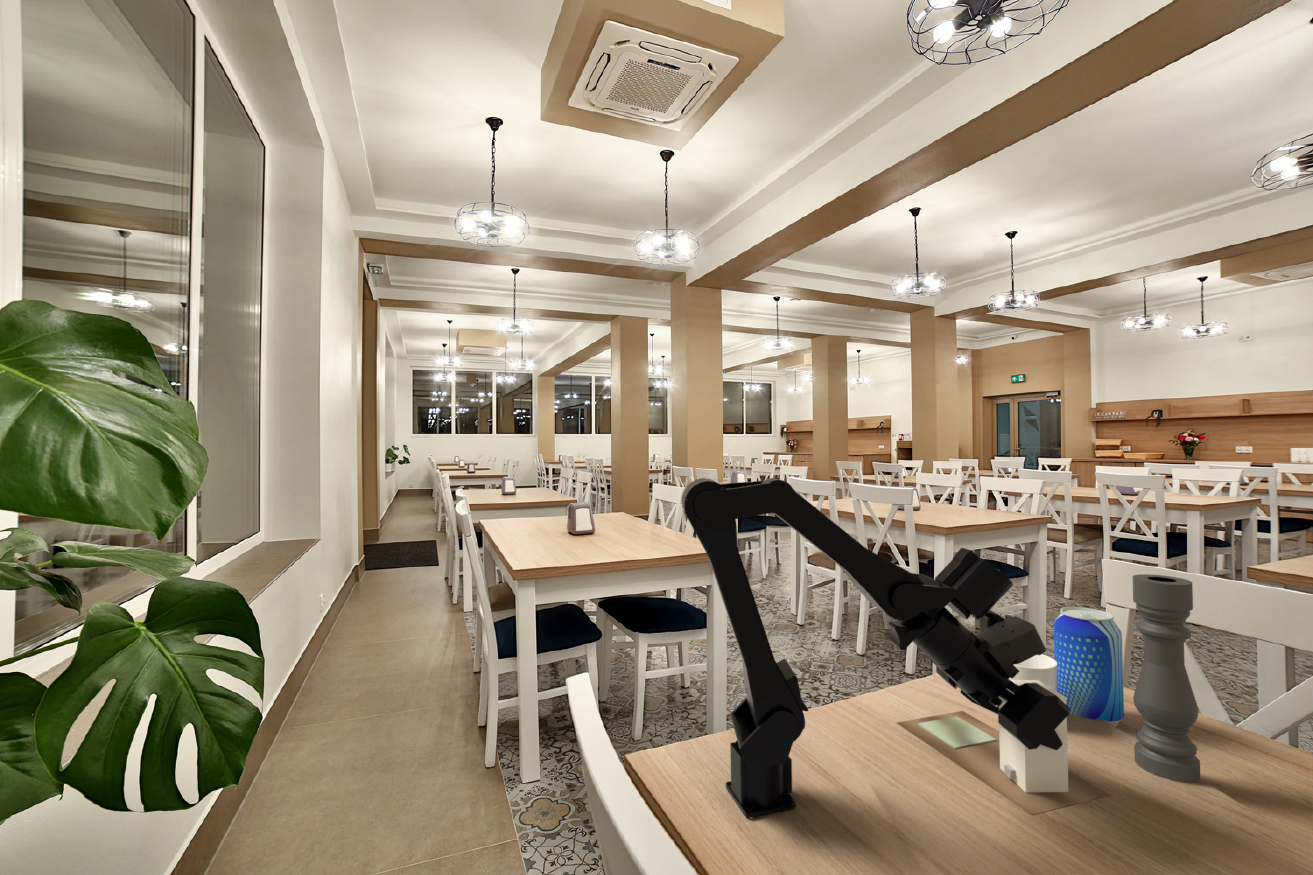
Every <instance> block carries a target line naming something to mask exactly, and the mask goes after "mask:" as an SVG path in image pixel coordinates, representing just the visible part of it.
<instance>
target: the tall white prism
mask: <svg viewBox="0 0 1313 875" xmlns="http://www.w3.org/2000/svg"><path fill="white" fill-rule="evenodd" d="M1011 681H1012V682H1014V683H1015V684H1017V685H1018V686H1020V685H1022V684H1024V683H1037V684H1039V685H1040V686H1042V687H1044V688H1045V689H1047V690H1048V691H1050V692H1052V693H1053V694H1055V695H1056V696H1058V697H1059V698H1060V699H1061V700H1062V701H1063V702H1064V703H1065V704H1066V705H1067V701H1066V697H1065V696H1063V695H1062V694H1060V693H1058V692H1057V691H1055V690H1053V689H1052V688H1050V687H1049V686H1047V685H1045V684H1044V683H1042V682H1040V681H1039V680H1011ZM1006 689H1007V688H1006ZM1007 690H1008V689H1007ZM1008 691H1010V690H1008ZM1010 692H1011V691H1010ZM1011 693H1013V692H1011ZM1013 694H1014V693H1013ZM999 698H1000V699H1001V700H1002V701H1003V702H1002V704H1001V705H1000V706H999V710H1000V708H1001V707H1002V706H1003V705H1004V704H1005V703H1006V701H1005V700H1003V699H1002V698H1001V697H999ZM1067 717H1068V716H1067ZM1067 717H1066V718H1065V719H1064V720H1063V721H1062V722H1061V723H1060V724H1059V726H1058V727H1057V728H1056V729H1055V731H1056V733H1057V734H1058V736H1059V738H1060V740H1061V741H1062V743H1063V744H1062V746H1061V747H1060V748H1059V749H1058V750H1054V749H1051V748H1048V747H1046V746H1043V745H1040V746H1039V747H1038V748H1037V749H1031V750H1029V749H1028V748H1027V747H1026V746H1024V745H1023V744H1022V743H1021V742H1019V741H1018V740H1017V739H1016V738H1014V737H1013V736H1012V735H1011V734H1010V733H1009V732H1008V731H1007V730H1005V729H1004V728H1003V727H1002V726H1001V725H1000V724H999V723H998V731H999V740H1000V769H1001V770H1002V771H1003V772H1004V773H1005V774H1006V775H1007V776H1008V777H1009V778H1010V779H1012V780H1013V781H1014V782H1015V783H1016V784H1017V785H1018V786H1019V787H1020V788H1021V789H1023V790H1024V791H1025V792H1068V770H1069V767H1068V766H1069V762H1068V761H1069V760H1068V759H1069V758H1068V757H1069V755H1068V718H1067Z"/></svg>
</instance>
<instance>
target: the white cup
mask: <svg viewBox="0 0 1313 875" xmlns="http://www.w3.org/2000/svg"><path fill="white" fill-rule="evenodd" d="M1014 666H1015V667H1016V668H1017V669H1018V670H1019V671H1020V672H1019V673H1018V674H1017V675H1016V676H1015V677H1014V678H1009V680H1039V681H1040V682H1042V683H1044V684H1045V685H1047V686H1049V687H1050V688H1052V689H1053V690H1055V691H1057V669H1058V663H1057V662H1056V661H1055V660H1054V658H1052V657H1050V656H1048V655H1046V654H1044V653H1043V654H1041V655H1035V656H1033V657H1031V658H1029V659H1027V660H1025V661H1023V662H1021V663H1019V664H1014Z"/></svg>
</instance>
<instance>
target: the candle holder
mask: <svg viewBox="0 0 1313 875" xmlns="http://www.w3.org/2000/svg"><path fill="white" fill-rule="evenodd" d="M1193 592H1194V590H1193V581H1192V580H1189V579H1186V578H1185V579H1184V578H1182V577H1181V578H1180V577H1178V576H1177V577H1176V576H1170V575H1160V574H1151V573H1150V574H1149V573H1148V574H1141V573H1140V574H1135V575H1133V576H1132V601H1133V603H1135V604H1136V605H1135V607H1136V609H1137V611H1138V612H1139V615H1140V616H1141V618H1142V620H1139V621H1138V622H1136V625H1135V626H1136V627H1135V628H1136V630H1138V632H1140V634H1141V635H1142V636H1143V637H1142V638H1143V661H1142V665H1141V668H1140V673H1139V675H1138V679H1137V682H1136V686H1135V689H1134V693H1133V697H1132V698H1133V704H1134V706H1135V708H1136V710H1137V712H1138V713H1139V715H1141V716H1142V722H1143V723H1144V724H1145V725H1143V726H1142V727H1141V729H1139V730H1137V733H1136V739H1137V740H1138V741H1136V742H1135V743H1134V747H1133V748H1134V750H1133V751H1134V752H1133V753H1134V762H1135V764H1136V765H1137V766H1138V767H1139V768H1140V769H1143V770H1144V771H1146V772H1147V773H1150V774H1152V775H1154V776H1157V777H1159V778H1162V779H1166V780H1169V781H1172V782H1173V781H1174V782H1179V783H1196V782H1198V781H1200V780H1201V760H1200V759H1199V758H1198V757H1197V756H1196V755H1197V752H1198V747H1197V745H1196V744H1195V743H1194V742H1193V740H1192V739H1191V738H1190V737H1189V736H1188V734H1189V733H1190V732H1191V729H1190V728H1191V727H1192V726H1193V725H1195V723H1196V722H1197V719H1198V717H1199V706H1198V703H1197V700H1196V697H1195V694H1194V690H1193V688H1192V684H1191V681H1190V679H1189V674H1188V671H1187V669H1186V666H1185V665H1186V664H1185V643H1186V641H1187V640H1188V639H1191V636H1192V631H1191V630H1190V629H1189V628H1187V627H1186V626H1185V625H1184V624H1185V623H1186V621H1187V619H1188V618H1189V617H1190V616H1191V611H1192V610H1193V609H1194V595H1193V594H1194V593H1193Z"/></svg>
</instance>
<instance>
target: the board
mask: <svg viewBox="0 0 1313 875" xmlns="http://www.w3.org/2000/svg"><path fill="white" fill-rule="evenodd" d="M896 724H897V725H899V726H900V727H902V729H904V730H906V731H907V732H909V733H911V735H912V736H915V737H917V739H919V740H920V741H922V742H924V743H925V744H926V745H927V746H929V747H931V748H932V749H934V750H935V751H936V752H938V753H940V754H941V755H942V756H944V757H946V758H947V759H949V760H950V761H951V762H953V763H954V764H956V765H958V767H960V768H962V769H964V771H966V772H967V773H969V774H971V775H972V776H974V778H977V779H978V780H979V781H981V782H982V783H984V784H985V785H987V786H989V788H991V789H992V790H994V791H995V792H996V793H998V794H1000V795H1001V796H1003V797H1004V798H1006V799H1007V800H1009V801H1010V802H1012V803H1013V804H1014V805H1016V806H1017V807H1019V808H1021V809H1022V810H1023V811H1025V812H1026V813H1027V814H1030V815H1031V816H1034V815H1038V814H1042V813H1046V812H1050V811H1054V810H1057V809H1062V808H1066V807H1070V806H1074V805H1079V804H1082V803H1083V804H1084V803H1086V802H1090V801H1094V800H1098V799H1103V798H1107V797H1110V796H1113V794H1112V793H1110V792H1108V791H1106V790H1105V789H1103V788H1101V787H1100V786H1097V785H1096V784H1094V783H1093V782H1090V781H1088V780H1087V779H1085V778H1084V777H1082V776H1080V775H1078V774H1077V773H1075V772H1073V771H1071V770H1069V769H1068V792H1025V791H1024V790H1023V789H1021V788H1020V787H1019V786H1018V785H1017V784H1016V783H1015V782H1014V781H1013V780H1012V779H1010V778H1009V777H1008V776H1007V775H1006V774H1005V773H1004V772H1003V771H1002V770H1001V769H1000V740H999V729H996V728H994V727H992V726H990V725H989V724H986V722H984V721H982V720H980V719H978V718H976V717H974V716H973V715H971V714H969V713H967V712H966V711H964V710H959V711H955V712H950V713H949V712H948V713H944V714H943V713H942V714H938V715H931V716H925V717H921V718H920V717H919V718H915V719H909V720H904V721H898V722H896Z"/></svg>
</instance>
